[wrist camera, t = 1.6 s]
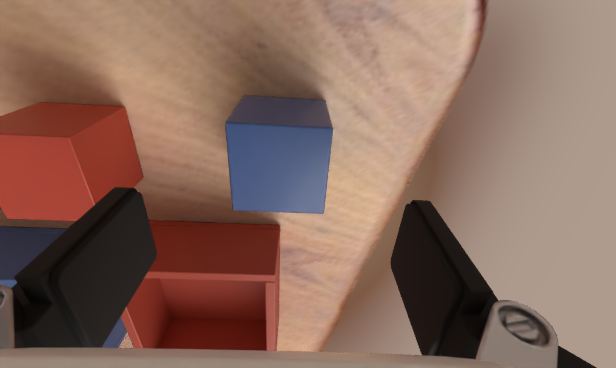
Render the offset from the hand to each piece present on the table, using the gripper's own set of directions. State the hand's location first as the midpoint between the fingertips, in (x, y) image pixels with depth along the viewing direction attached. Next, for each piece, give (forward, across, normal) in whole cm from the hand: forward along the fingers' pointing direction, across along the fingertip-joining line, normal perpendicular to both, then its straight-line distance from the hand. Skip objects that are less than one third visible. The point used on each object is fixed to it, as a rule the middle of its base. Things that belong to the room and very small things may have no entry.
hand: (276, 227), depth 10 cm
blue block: (+8, 0, -1) cm, 8 cm away
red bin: (+8, +5, +11) cm, 15 cm away
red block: (+8, +11, 0) cm, 14 cm away
